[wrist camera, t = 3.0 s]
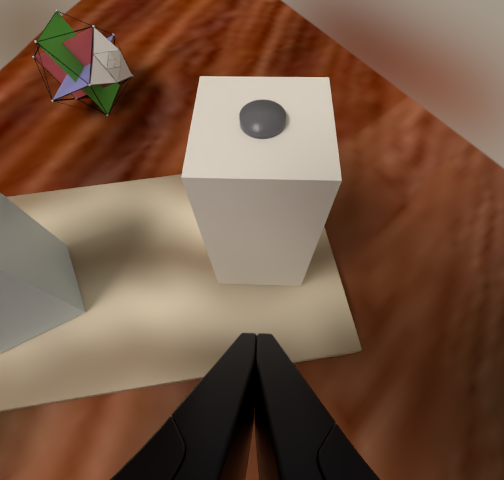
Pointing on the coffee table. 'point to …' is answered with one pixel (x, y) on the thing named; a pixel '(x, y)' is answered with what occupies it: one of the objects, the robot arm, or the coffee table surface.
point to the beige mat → (158, 299)
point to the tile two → (33, 278)
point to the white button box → (262, 174)
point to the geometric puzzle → (82, 62)
